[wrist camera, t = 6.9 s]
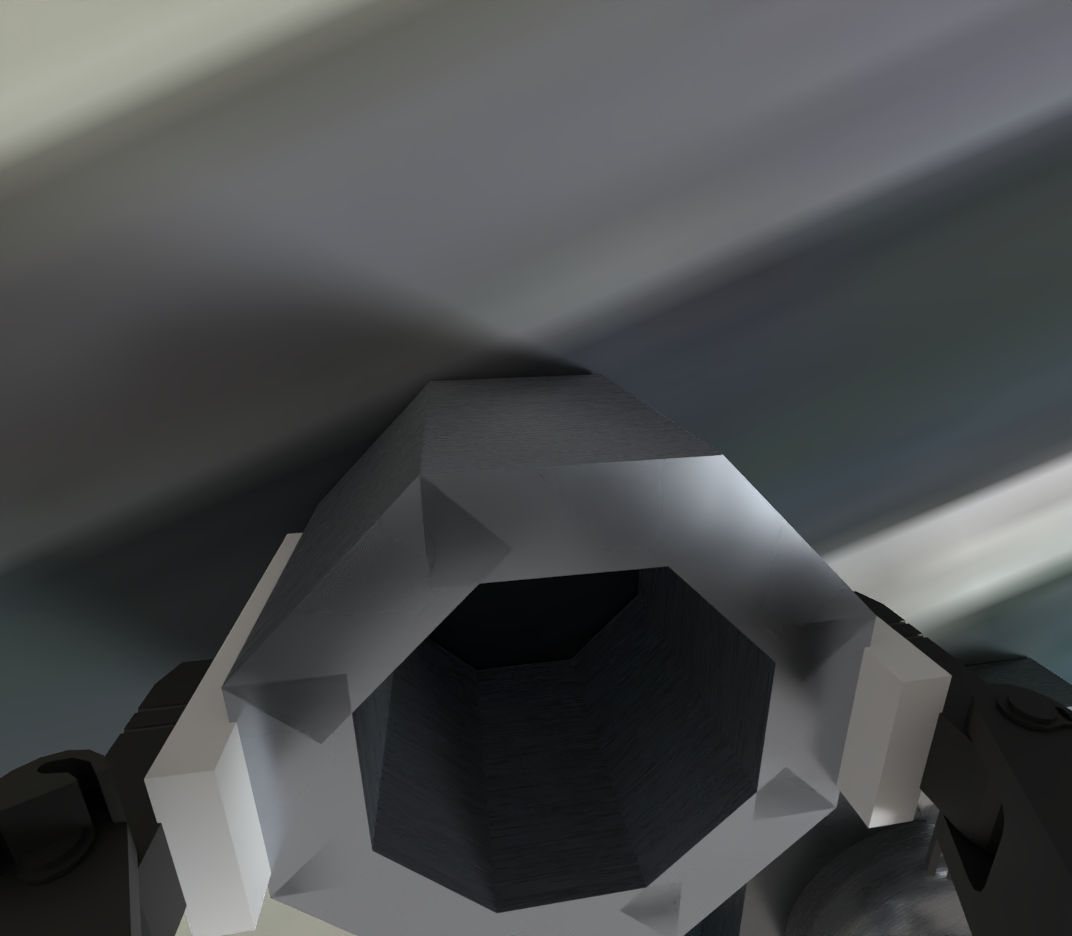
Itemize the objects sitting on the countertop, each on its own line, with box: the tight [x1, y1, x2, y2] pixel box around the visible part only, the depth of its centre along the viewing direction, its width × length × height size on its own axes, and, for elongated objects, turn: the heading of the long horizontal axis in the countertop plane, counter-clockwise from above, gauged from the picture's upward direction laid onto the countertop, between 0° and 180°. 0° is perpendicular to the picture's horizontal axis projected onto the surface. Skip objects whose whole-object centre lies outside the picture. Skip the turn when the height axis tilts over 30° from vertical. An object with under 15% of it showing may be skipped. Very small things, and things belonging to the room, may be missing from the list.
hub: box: [221, 374, 876, 936], centre depth 11 cm, size 9×9×6 cm
